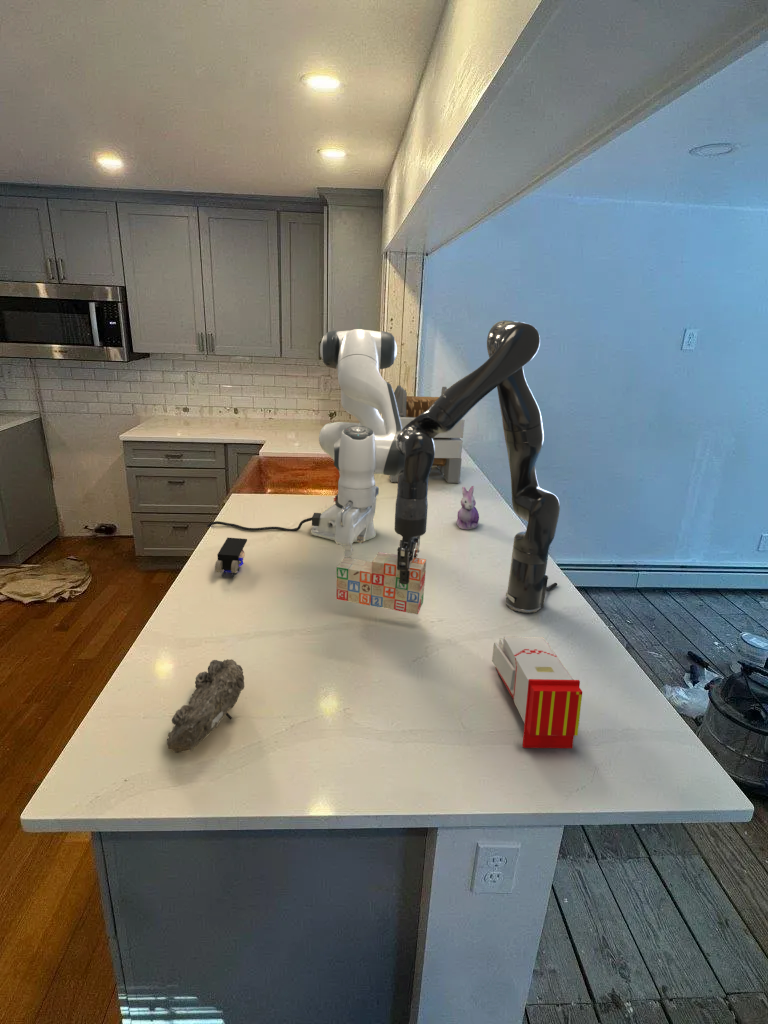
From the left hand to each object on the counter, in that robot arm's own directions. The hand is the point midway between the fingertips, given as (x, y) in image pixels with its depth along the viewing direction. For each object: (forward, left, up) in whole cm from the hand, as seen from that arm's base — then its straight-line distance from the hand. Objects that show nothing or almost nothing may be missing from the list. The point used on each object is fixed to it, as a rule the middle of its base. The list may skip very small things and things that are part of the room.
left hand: (355, 548), depth 140 cm
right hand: (+14, 0, -5) cm, 15 cm away
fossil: (-13, -45, -19) cm, 51 cm away
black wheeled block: (-42, +12, -19) cm, 47 cm away
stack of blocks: (+7, 0, -14) cm, 15 cm away
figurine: (+19, +76, -19) cm, 80 cm away
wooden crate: (-13, +138, -19) cm, 140 cm away
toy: (+45, -20, -19) cm, 53 cm away
